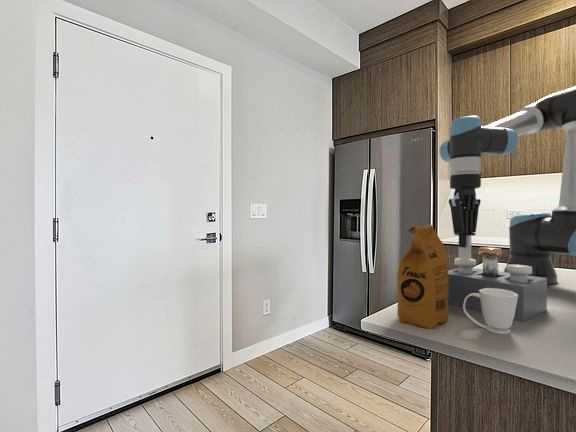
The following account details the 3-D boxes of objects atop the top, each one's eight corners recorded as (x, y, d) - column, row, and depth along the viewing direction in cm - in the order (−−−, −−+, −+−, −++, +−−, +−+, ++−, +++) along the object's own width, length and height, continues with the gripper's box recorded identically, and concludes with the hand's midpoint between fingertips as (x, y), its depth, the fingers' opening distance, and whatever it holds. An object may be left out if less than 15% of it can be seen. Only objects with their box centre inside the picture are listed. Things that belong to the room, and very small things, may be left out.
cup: (517, 339, 63) (517, 298, 63) (460, 328, 69) (460, 290, 69) (518, 328, 69) (519, 290, 68) (466, 319, 75) (466, 284, 75)
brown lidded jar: (484, 277, 88) (484, 246, 88) (505, 281, 84) (505, 248, 84) (475, 280, 85) (475, 248, 85) (496, 284, 81) (496, 250, 81)
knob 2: (511, 296, 83) (511, 263, 83) (535, 301, 79) (535, 266, 79) (502, 299, 80) (502, 266, 80) (526, 304, 76) (526, 269, 76)
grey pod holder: (465, 293, 97) (465, 266, 97) (546, 309, 81) (546, 278, 80) (439, 301, 89) (439, 272, 89) (523, 321, 73) (523, 286, 72)
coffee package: (389, 320, 75) (389, 225, 74) (414, 308, 83) (414, 223, 83) (433, 332, 67) (433, 227, 67) (455, 317, 76) (455, 224, 75)
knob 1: (460, 286, 94) (460, 257, 94) (479, 290, 89) (479, 259, 89) (451, 289, 91) (451, 259, 91) (470, 293, 87) (470, 261, 86)
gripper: (463, 176, 96) (463, 255, 97) (439, 174, 89) (439, 259, 89) (490, 174, 90) (490, 258, 90) (466, 171, 83) (466, 262, 83)
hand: (464, 258), depth 90 cm, fingers closed
